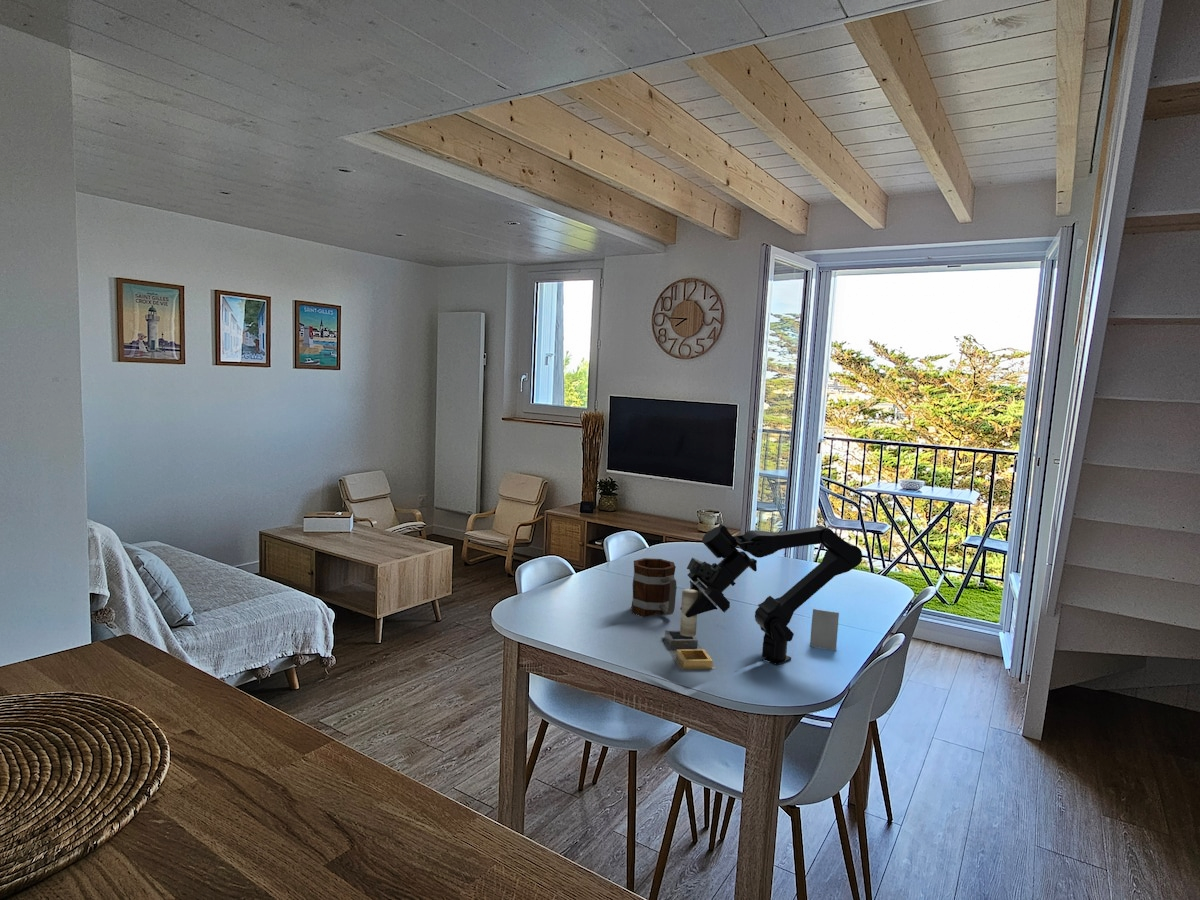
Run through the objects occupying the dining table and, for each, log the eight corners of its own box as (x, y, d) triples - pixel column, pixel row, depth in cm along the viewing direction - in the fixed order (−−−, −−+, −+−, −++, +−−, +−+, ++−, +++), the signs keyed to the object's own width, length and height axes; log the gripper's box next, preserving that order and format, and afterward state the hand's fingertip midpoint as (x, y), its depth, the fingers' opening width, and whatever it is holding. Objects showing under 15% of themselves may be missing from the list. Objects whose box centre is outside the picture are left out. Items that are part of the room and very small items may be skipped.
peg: (683, 629, 179) (685, 588, 178) (697, 632, 177) (700, 590, 176) (677, 634, 175) (680, 592, 174) (693, 637, 173) (695, 594, 172)
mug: (622, 606, 218) (624, 559, 216) (660, 602, 223) (663, 556, 222) (651, 627, 200) (654, 576, 198) (692, 623, 205) (695, 573, 204)
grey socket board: (660, 641, 189) (661, 630, 189) (692, 641, 190) (693, 630, 190) (679, 674, 168) (680, 661, 168) (715, 673, 170) (716, 660, 169)
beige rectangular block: (835, 650, 188) (838, 615, 187) (809, 646, 191) (812, 611, 190) (836, 646, 192) (839, 611, 191) (810, 641, 194) (813, 607, 193)
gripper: (696, 539, 184) (654, 580, 183) (720, 557, 165) (672, 603, 165) (723, 568, 186) (681, 609, 185) (749, 589, 167) (703, 634, 167)
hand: (683, 613), depth 175 cm, fingers closed on peg, 4 cm apart
